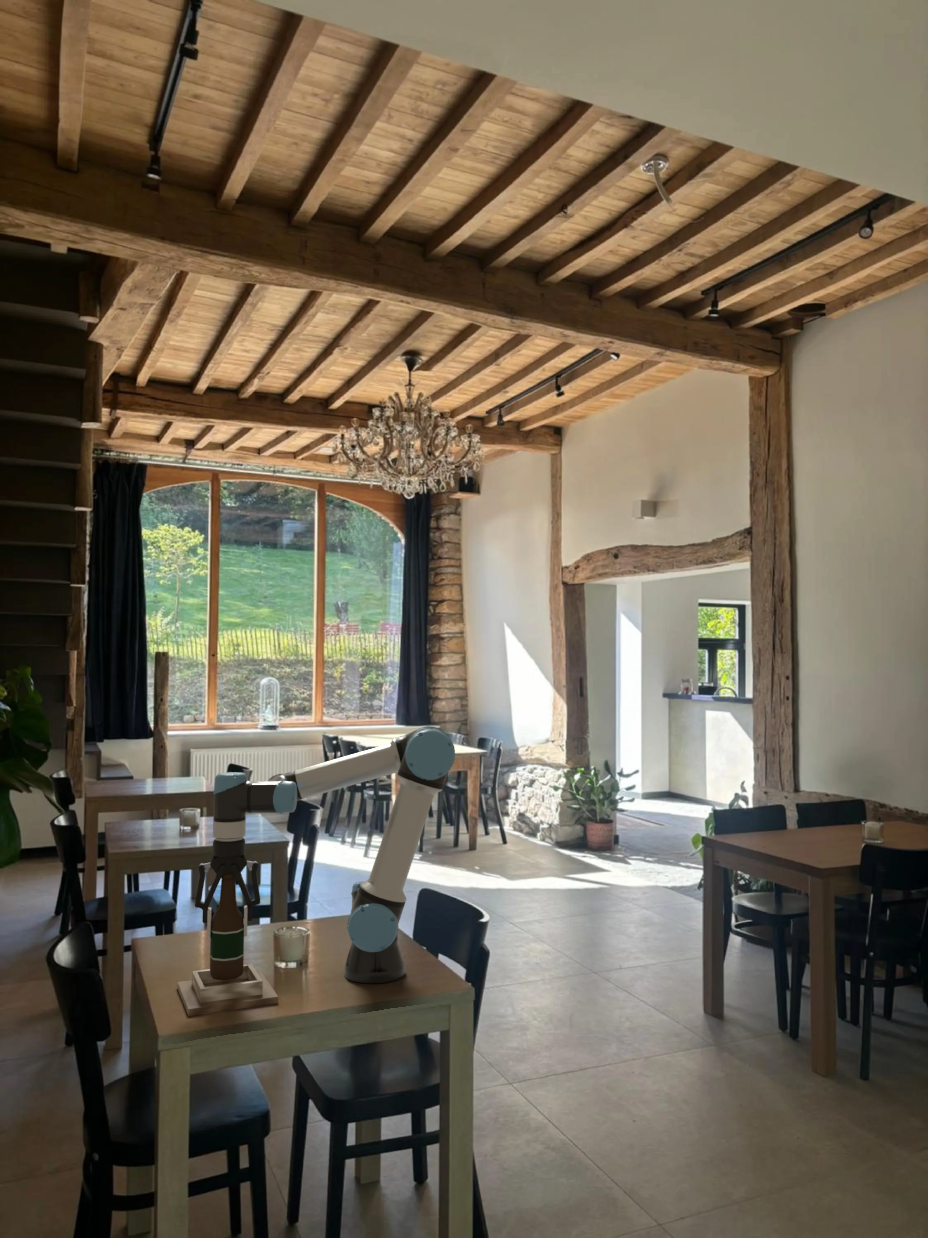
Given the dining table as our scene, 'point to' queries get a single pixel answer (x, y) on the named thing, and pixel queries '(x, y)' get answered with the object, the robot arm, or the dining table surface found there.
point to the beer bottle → (227, 934)
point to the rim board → (225, 992)
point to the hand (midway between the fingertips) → (227, 936)
